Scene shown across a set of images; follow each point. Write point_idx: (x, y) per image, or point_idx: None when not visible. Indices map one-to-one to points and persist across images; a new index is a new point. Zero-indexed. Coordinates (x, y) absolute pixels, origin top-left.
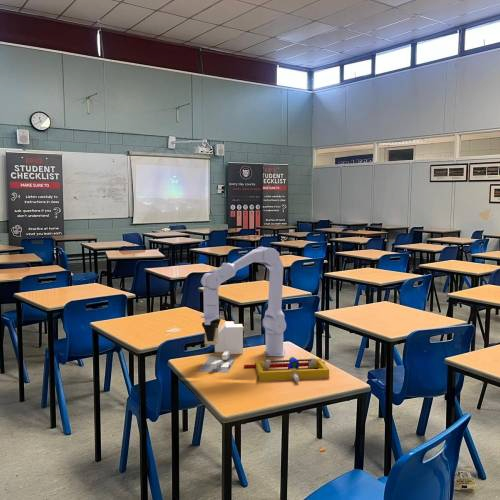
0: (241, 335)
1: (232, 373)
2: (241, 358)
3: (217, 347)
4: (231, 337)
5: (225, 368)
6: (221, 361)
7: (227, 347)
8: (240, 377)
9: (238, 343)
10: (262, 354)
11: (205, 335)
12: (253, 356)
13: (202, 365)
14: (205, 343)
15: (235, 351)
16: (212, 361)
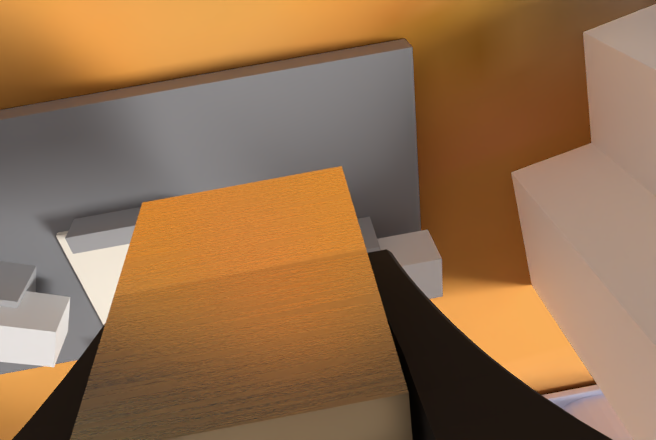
0: (637, 437)
1: (67, 365)
2: (463, 295)
3: (632, 89)
4: (621, 347)
5: (84, 327)
6: (28, 362)
7: (555, 232)
8: (16, 427)
9: (586, 343)
10: (576, 374)
11: (111, 334)
12: (524, 345)
13: (51, 111)
14: (143, 225)
15: (542, 266)
16: (235, 154)
